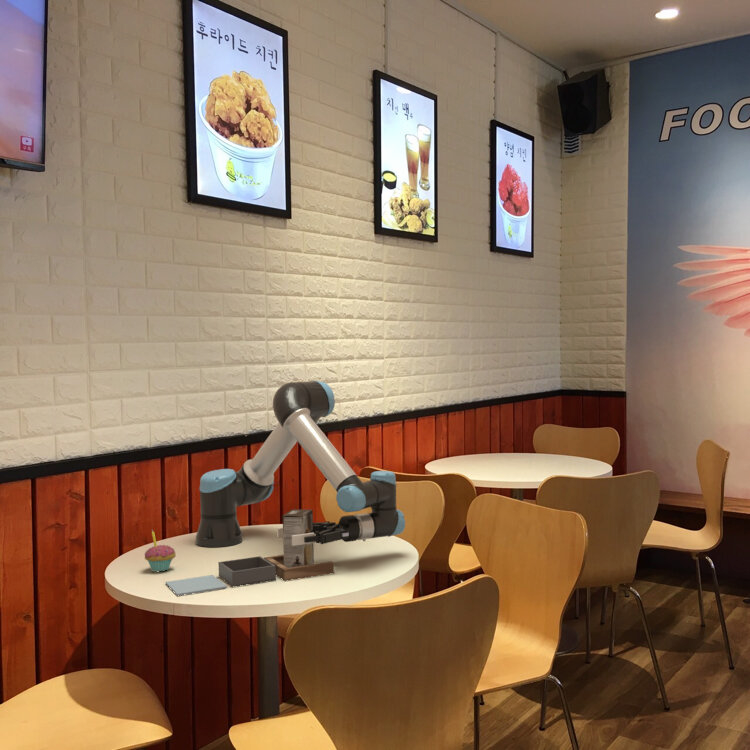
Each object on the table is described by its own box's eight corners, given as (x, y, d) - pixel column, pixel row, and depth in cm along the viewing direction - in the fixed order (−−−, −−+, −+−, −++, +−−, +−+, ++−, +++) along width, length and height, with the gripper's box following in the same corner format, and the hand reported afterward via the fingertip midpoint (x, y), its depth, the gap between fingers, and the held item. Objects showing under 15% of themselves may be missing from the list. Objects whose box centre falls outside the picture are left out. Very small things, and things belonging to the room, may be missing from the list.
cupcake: (147, 575, 222) (145, 533, 222) (143, 568, 230) (142, 527, 229) (178, 571, 225) (177, 529, 225) (173, 564, 233) (172, 524, 233)
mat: (165, 584, 213) (165, 581, 213) (212, 577, 219) (212, 574, 219) (177, 596, 201) (177, 594, 201) (227, 588, 207) (226, 586, 207)
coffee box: (293, 563, 229) (292, 508, 229) (314, 564, 228) (313, 509, 228) (283, 572, 220) (282, 515, 220) (305, 573, 219) (304, 515, 219)
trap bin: (218, 576, 219) (218, 562, 219) (260, 570, 225) (260, 556, 225) (232, 587, 208) (232, 572, 208) (275, 580, 214) (275, 565, 214)
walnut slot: (264, 567, 228) (263, 557, 228) (310, 560, 234) (310, 550, 234) (284, 581, 213) (284, 570, 213) (333, 573, 220) (333, 562, 220)
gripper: (373, 548, 222) (300, 558, 212) (338, 533, 242) (270, 542, 232) (373, 521, 222) (300, 531, 212) (338, 508, 242) (270, 516, 232)
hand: (284, 536), depth 222 cm, fingers closed on coffee box, 10 cm apart
